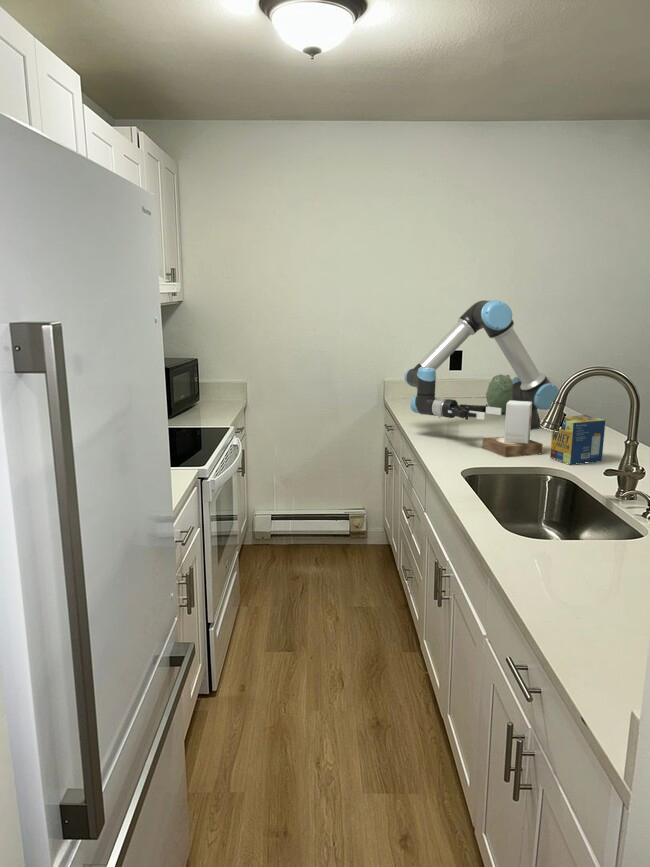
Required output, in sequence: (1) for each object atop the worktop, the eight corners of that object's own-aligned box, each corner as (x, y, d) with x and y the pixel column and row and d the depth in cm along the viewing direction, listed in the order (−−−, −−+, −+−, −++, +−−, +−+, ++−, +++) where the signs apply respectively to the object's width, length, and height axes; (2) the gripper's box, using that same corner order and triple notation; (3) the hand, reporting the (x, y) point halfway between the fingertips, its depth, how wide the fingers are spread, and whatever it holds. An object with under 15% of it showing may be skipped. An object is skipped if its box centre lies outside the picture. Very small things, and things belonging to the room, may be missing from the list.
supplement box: (528, 444, 256) (530, 404, 253) (503, 442, 259) (505, 403, 256) (530, 439, 264) (532, 401, 261) (506, 437, 267) (508, 399, 264)
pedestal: (517, 445, 274) (517, 434, 273) (541, 454, 259) (542, 443, 258) (482, 448, 269) (482, 437, 268) (505, 457, 254) (505, 445, 253)
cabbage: (511, 410, 357) (513, 372, 353) (520, 416, 339) (523, 376, 335) (481, 410, 357) (483, 372, 353) (489, 416, 339) (491, 376, 335)
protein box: (549, 459, 251) (552, 417, 248) (581, 455, 257) (584, 414, 254) (569, 465, 242) (573, 422, 239) (602, 461, 248) (606, 419, 245)
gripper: (460, 413, 290) (507, 419, 277) (429, 421, 272) (477, 427, 258) (461, 395, 289) (508, 400, 275) (429, 402, 270) (477, 408, 257)
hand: (493, 413), depth 267 cm, fingers open, 13 cm apart
